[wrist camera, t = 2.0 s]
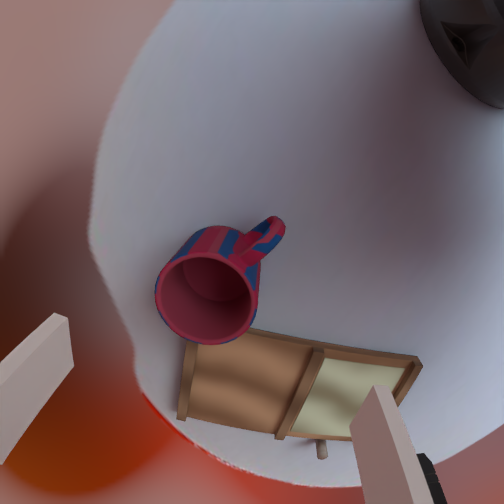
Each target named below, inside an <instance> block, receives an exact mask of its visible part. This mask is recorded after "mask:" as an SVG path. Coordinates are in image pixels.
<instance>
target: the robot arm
mask: <svg viewBox="0 0 504 504" xmlns="http://www.w3.org/2000/svg"><path fill="white" fill-rule="evenodd" d="M420 9H421V15H422V20H423V23H424V26H425V29H426V32H427V35H428V37H429V39H430V41H431V43H432V45H433V47H434V49H435V51H436V52H437V54H438V56H439V57H440V59H441V60H442V62H443V63H444V65H445V66H446V68H447V69H448V70H449V71H450V73H451V74H452V75H453V76H454V77H455V79H456V80H457V81H458V82H459V83H460V84H461V85H462V86H463V87H464V88H465V89H466V90H467V91H469V92H470V93H471V94H472V95H474V96H475V97H476V98H478V99H479V100H481V101H483V102H484V103H486V104H489V105H491V106H494V107H497V108H504V0H420ZM73 367H74V363H73V357H72V349H71V341H70V334H69V324H68V318H67V317H64V316H62V315H59V314H56V313H53V314H52V315H51V316H50V317H49V318H48V319H47V320H46V321H45V322H43V323H42V324H41V325H40V326H39V327H38V328H37V329H36V330H35V331H33V332H32V333H31V334H30V335H29V336H28V337H27V338H26V339H25V340H24V341H22V343H20V344H19V345H18V346H17V347H16V348H15V349H14V350H13V351H12V352H11V353H10V354H9V355H8V356H7V357H6V358H5V359H4V360H3V361H2V362H0V464H1V465H2V464H3V462H4V460H5V459H6V458H7V456H8V454H9V453H10V452H11V450H12V449H13V447H14V446H15V444H16V443H17V442H18V440H19V438H20V437H21V436H22V434H23V433H24V432H25V430H26V429H27V427H28V426H29V425H30V423H31V422H32V420H33V419H34V418H35V416H36V415H37V414H38V412H39V411H40V410H41V408H42V407H43V406H44V404H45V403H46V401H47V400H48V399H49V398H50V396H51V395H52V394H53V392H54V391H55V390H56V388H57V387H58V386H59V385H60V383H61V382H62V381H63V379H64V378H65V377H66V376H67V374H68V373H69V372H70V370H71V369H72V368H73ZM349 429H350V433H351V438H352V442H353V446H354V451H355V455H356V460H357V464H358V469H359V474H360V479H361V483H362V488H363V493H364V498H365V503H366V504H447V501H446V499H445V496H444V493H443V490H442V488H441V485H440V483H439V482H438V481H439V480H438V477H437V475H436V474H435V473H436V472H435V469H434V467H433V464H432V462H431V461H430V460H429V459H428V457H427V456H426V455H425V454H424V453H421V454H416V452H415V450H414V447H413V444H412V442H411V439H410V437H409V434H408V432H407V429H406V427H405V424H404V422H403V419H402V417H401V414H400V412H399V410H398V407H397V405H396V402H395V400H394V398H393V395H392V393H391V391H390V388H389V386H385V385H373V386H372V388H371V390H370V391H369V393H368V395H367V397H366V398H365V400H364V402H363V404H362V405H361V407H360V409H359V410H358V412H357V414H356V416H355V417H354V419H353V420H352V422H351V424H350V425H349Z"/></svg>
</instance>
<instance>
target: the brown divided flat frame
mask: <svg viewBox="0 0 504 504" xmlns="http://www.w3.org/2000/svg"><path fill="white" fill-rule="evenodd" d="M422 368H423V365H422V363H421V362H420V360H419V359H418V357H417V356H410V355H402V354H395V353H387V352H380V351H373V350H367V349H360V348H354V347H347V346H341V345H335V344H330V343H324V342H318V341H313V340H307V339H302V338H297V337H292V336H287V335H282V334H277V333H272V332H267V331H262V330H258V329H253V328H248V330H247V331H246V332H245V333H244V334H243V335H241V336H240V337H238V338H237V339H235V340H233V341H230V342H228V343H224V344H220V345H202V344H198V343H194V342H191V341H189V340H187V343H186V349H185V356H184V363H183V371H182V378H181V386H180V393H179V401H178V409H177V418H176V419H178V420H181V421H186V417H191V418H195V419H199V420H203V421H207V422H212V423H216V424H221V425H225V426H230V427H235V428H241V429H246V430H252V431H258V432H264V433H271V434H275V439H277V440H284V438H285V436H293V437H302V438H312V439H315V441H316V449H317V458H318V459H325V458H327V457H328V454H327V447H326V440H339V441H352V438H351V433H350V429H349V425H350V424H351V422H352V420H353V419H354V417H355V416H356V414H357V412H358V410H359V409H360V407H361V405H362V404H363V402H364V400H365V398H366V397H367V395H368V393H369V391H370V390H371V388H372V386H373V385H385V386H389V388H390V391H391V393H392V395H393V398H394V400H395V402H396V405H397V407H398V406H399V405H400V403H401V402H402V400H403V399H404V397H405V396H406V394H407V392H408V391H409V389H410V388H411V386H412V384H413V383H414V381H415V380H416V378H417V376H418V375H419V373H420V371H421V369H422Z"/></svg>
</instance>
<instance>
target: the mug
mask: <svg viewBox="0 0 504 504" xmlns="http://www.w3.org/2000/svg"><path fill="white" fill-rule="evenodd" d="M285 228H286V226H285V224H284V223H283V221H282V220H281V219H280V218H278V217H277V216H271V217H269V218H267V219H266V220H264V221H263V222H261V223H260V224H259V225H257V226H256V227H255V228H254V229H252V230H251V231H250V232H248V233H247V234H246V235H244V234H243V233H241V232H240V231H238V230H236V229H233V228H231V227H226V226H211V227H207V228H204V229H201V230H199V231H198V232H196V233H195V234H193V235H192V236H191V237H190V238H189V239H188V240H187V242H186V243H185V244H184V245H183V246H182V247H181V248H180V249H179V251H178V252H177V253H176V254H175V255H174V256H173V257H172V259H171V260H170V261H169V262H168V263H167V264H166V265H165V267H164V268H163V269H162V271H161V272H160V274H159V276H158V278H157V281H156V285H155V302H156V306H157V309H158V311H159V313H160V315H161V317H162V319H163V320H164V322H165V323H166V324H167V325H168V326H169V327H170V329H171V330H173V331H174V332H175V333H176V334H178V335H179V336H181V337H183V338H184V339H186V340H189V341H191V342H194V343H198V344H202V345H220V344H224V343H228V342H230V341H233V340H235V339H237V338H238V337H240V336H241V335H243V334H244V333H245V332H246V331H247V330H248V328H249V327H250V326H251V324H252V323H253V320H254V318H255V316H256V312H257V305H258V293H259V281H260V265H261V264H260V260H261V259H262V258H264V257H265V256H266V255H267V254H268V253H269V252H270V251H271V250H272V249H273V248H274V247H275V246H276V245H277V244H278V243H279V242H280V240H281V239H282V237H283V235H284V233H285Z"/></svg>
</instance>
